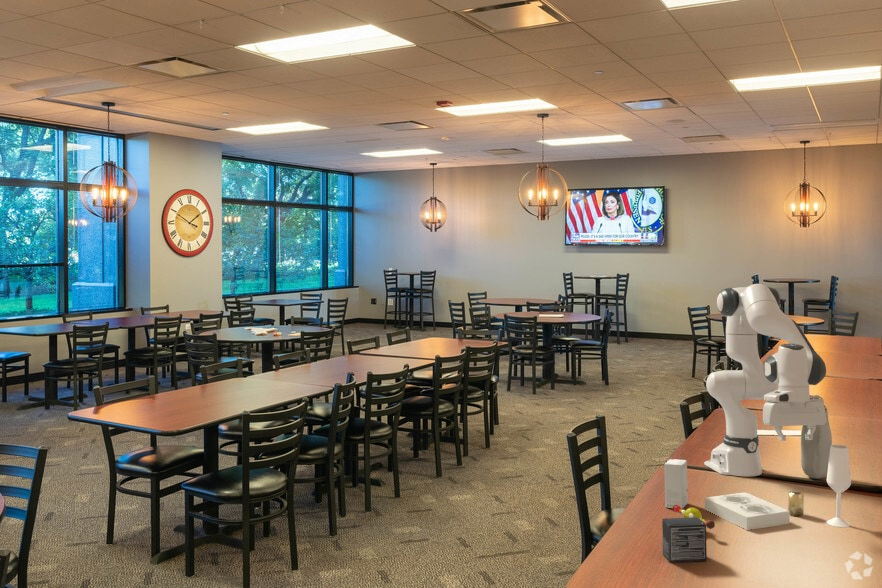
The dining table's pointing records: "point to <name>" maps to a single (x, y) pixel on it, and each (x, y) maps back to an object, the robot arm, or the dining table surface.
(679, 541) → the small box
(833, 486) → the champagne flute
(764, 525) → the jig
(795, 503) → the bushing
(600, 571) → the dining table surface
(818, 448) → the grey bottle
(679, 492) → the skincare box
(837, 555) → the dining table surface
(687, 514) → the toy figure
